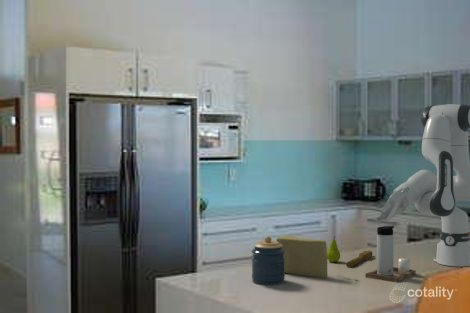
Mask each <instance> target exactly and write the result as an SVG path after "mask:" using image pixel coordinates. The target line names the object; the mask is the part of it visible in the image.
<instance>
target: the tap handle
mask: <svg viewBox="0 0 470 313" xmlns="http://www.w3.org/2000/svg"><path fill="white" fill-rule="evenodd" d="M372 256H373V251H372V250H364V251H361V252H360V253H359V254H358V256H357V257H355V258H352V259H351V260H348V261H347V262H346V264H345V266H346V267H347V269H348V268H350V269H351V268H353V267H355V266H357V265H358V264H359V263H361V262H364V261H367V260H369V259H371V258H372Z"/></svg>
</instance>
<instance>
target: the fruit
mask: <svg viewBox="0 0 470 313" xmlns="http://www.w3.org/2000/svg"><path fill="white" fill-rule="evenodd" d="M335 237H336V235H334V236H333V239H332V241H331V242H330V245H329V246H328V249H327V261H329V262H331V263H337V262H338V261H340V259H341V252H340V250H339V249H338V248H339V247H338V245H337V241H336V239H335Z"/></svg>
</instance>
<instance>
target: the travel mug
mask: <svg viewBox="0 0 470 313" xmlns="http://www.w3.org/2000/svg"><path fill="white" fill-rule="evenodd" d="M394 229H395V225H385V226H379V227H377V229H376V232H377V234H376V269H377V275H383V276H389V277H393V267H394Z"/></svg>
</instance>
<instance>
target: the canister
mask: <svg viewBox="0 0 470 313" xmlns="http://www.w3.org/2000/svg"><path fill="white" fill-rule="evenodd" d="M282 246H283V245H282V244H280V243H279V242H278V241H276V240H272V237H271V236H269V235H267V236H266V237H265V238H264V240H259V241H257V242H256V243H254V244H253V247H254V248H253V249H252V250H251V253H252V258H251V280H252V282H253V283H255V284H259V285H278V284H282V283H284V282H285V279H286V277H285V276H286V273H284V261H285V259H284V257H283V254H284V253H285V251H284V250H283V249H282V248H281V247H282Z"/></svg>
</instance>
